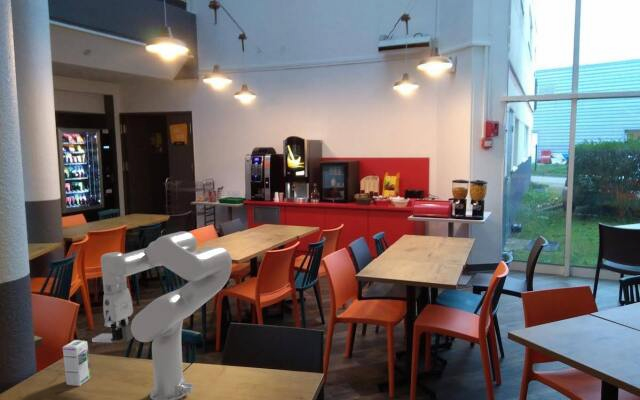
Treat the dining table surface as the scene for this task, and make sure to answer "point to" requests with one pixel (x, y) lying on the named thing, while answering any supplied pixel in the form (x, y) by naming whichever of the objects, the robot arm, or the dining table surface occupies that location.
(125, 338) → the two-tone stacked blocks
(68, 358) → the syrup box
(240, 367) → the dining table surface
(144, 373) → the dining table surface
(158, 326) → the robot arm
